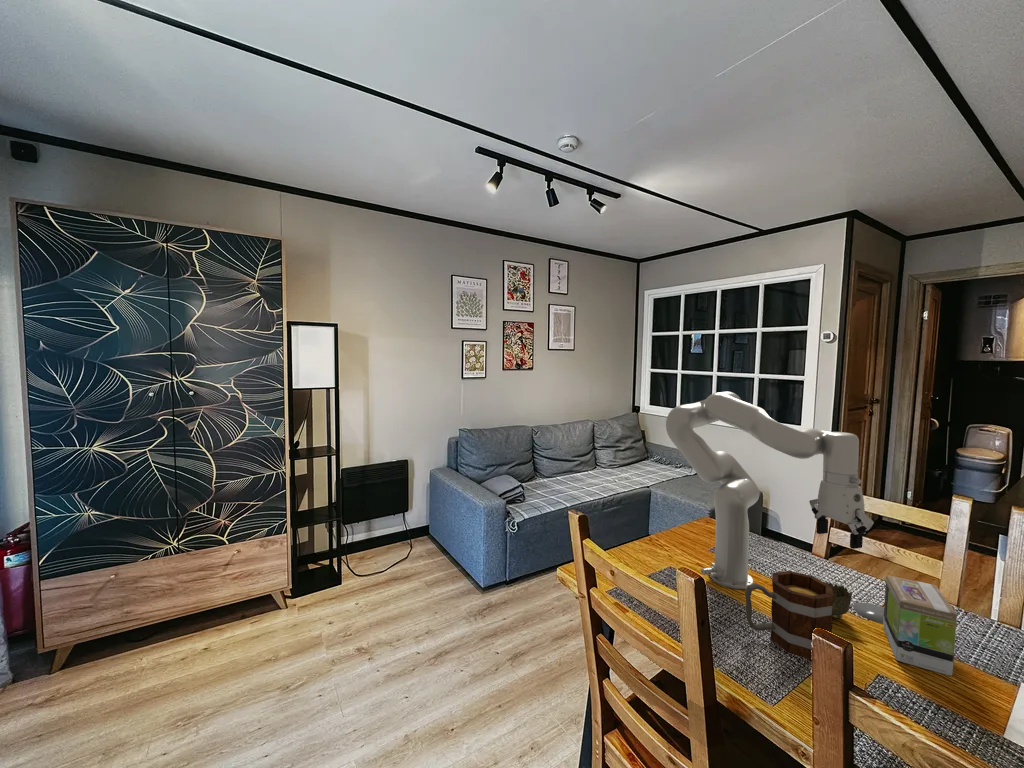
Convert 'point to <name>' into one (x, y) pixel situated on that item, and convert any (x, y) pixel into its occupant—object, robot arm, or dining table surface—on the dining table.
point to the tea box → (919, 624)
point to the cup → (840, 601)
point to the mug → (795, 610)
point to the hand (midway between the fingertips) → (838, 540)
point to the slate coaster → (870, 611)
